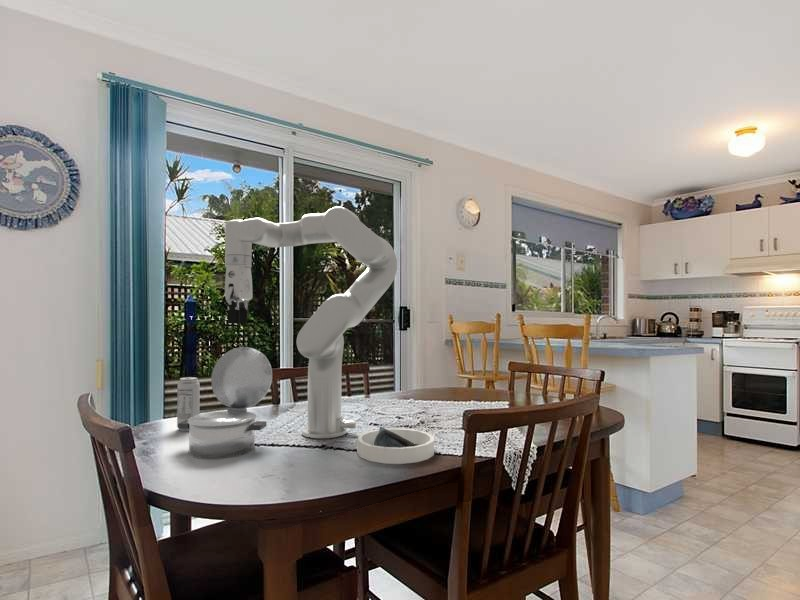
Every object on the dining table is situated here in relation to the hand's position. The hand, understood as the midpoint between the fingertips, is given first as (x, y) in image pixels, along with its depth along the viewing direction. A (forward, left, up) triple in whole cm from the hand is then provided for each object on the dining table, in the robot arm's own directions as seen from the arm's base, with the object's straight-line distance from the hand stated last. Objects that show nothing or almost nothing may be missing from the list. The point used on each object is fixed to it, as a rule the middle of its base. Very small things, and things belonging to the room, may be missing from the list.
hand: (237, 322), depth 148 cm
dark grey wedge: (-50, +21, -32) cm, 63 cm away
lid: (-5, +10, -15) cm, 19 cm away
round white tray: (-49, +19, -31) cm, 61 cm away
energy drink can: (+14, +2, -32) cm, 35 cm away
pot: (-5, +21, -31) cm, 38 cm away
